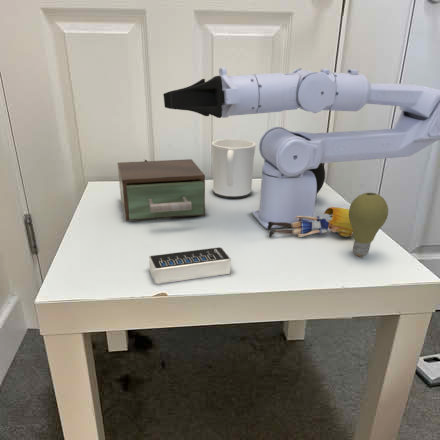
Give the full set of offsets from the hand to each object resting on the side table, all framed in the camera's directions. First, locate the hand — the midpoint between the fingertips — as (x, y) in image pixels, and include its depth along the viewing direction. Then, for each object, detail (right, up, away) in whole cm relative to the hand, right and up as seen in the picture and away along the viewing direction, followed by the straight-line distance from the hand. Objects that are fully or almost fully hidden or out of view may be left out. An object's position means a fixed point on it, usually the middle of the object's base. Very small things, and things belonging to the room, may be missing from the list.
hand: (167, 100), depth 69 cm
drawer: (-2, -14, +15) cm, 21 cm away
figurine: (+24, -19, +9) cm, 32 cm away
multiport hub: (+4, -26, -3) cm, 27 cm away
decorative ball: (+24, -10, +25) cm, 36 cm away
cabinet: (-3, -13, +19) cm, 23 cm away
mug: (+10, -8, +27) cm, 30 cm away
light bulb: (+30, -23, +2) cm, 38 cm away
